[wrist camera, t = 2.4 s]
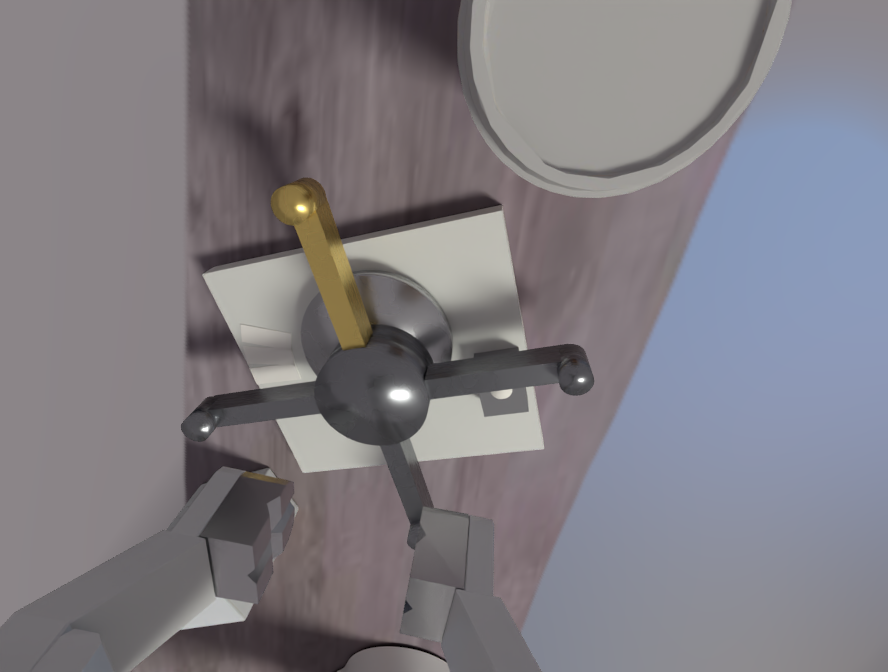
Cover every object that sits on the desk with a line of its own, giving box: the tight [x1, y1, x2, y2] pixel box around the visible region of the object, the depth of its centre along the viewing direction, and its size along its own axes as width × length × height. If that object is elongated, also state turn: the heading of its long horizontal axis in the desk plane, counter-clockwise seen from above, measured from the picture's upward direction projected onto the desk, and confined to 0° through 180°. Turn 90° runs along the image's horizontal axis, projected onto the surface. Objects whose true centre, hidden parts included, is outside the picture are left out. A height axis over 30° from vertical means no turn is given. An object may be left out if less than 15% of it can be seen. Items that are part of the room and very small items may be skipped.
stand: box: [202, 205, 544, 473], centre depth 31 cm, size 18×20×4 cm
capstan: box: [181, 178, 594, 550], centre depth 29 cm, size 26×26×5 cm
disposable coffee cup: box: [457, 0, 792, 198], centre depth 18 cm, size 10×10×12 cm
